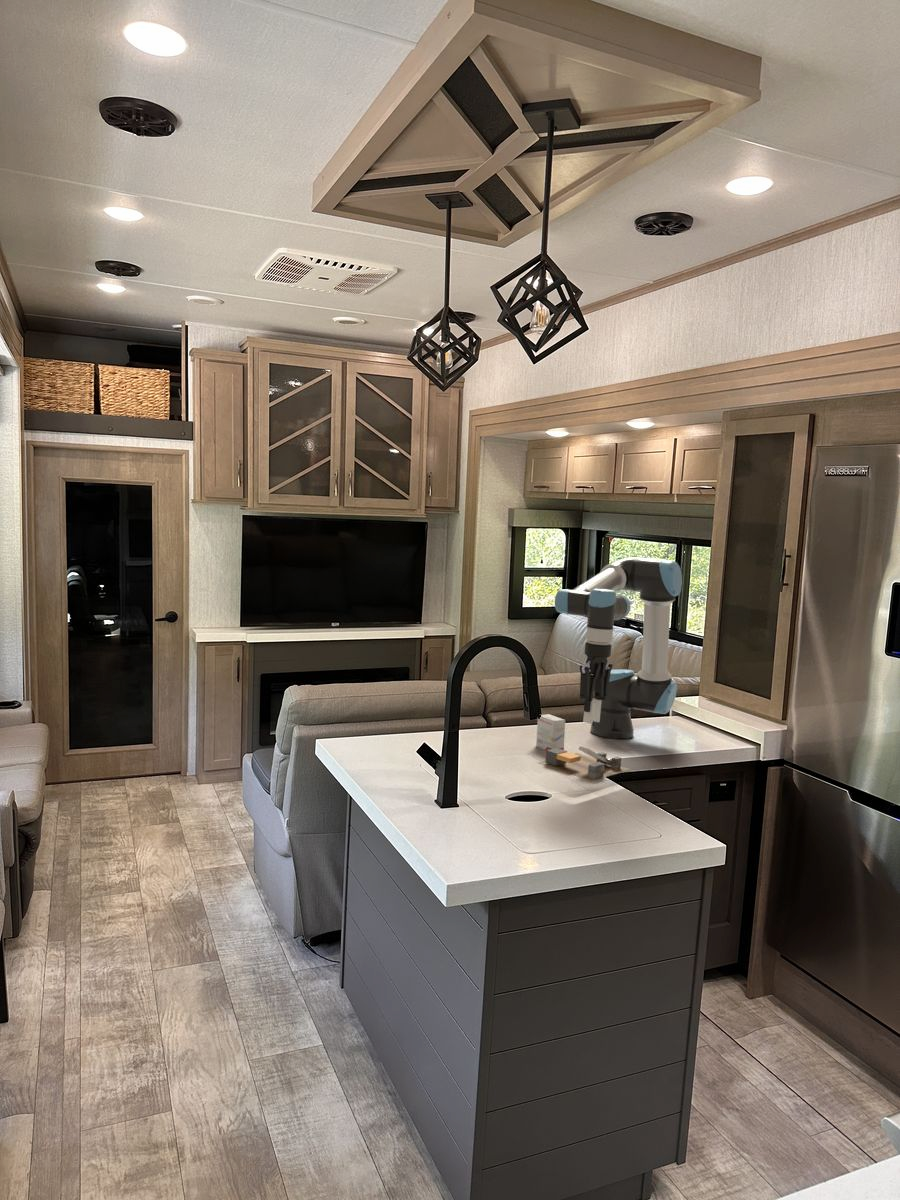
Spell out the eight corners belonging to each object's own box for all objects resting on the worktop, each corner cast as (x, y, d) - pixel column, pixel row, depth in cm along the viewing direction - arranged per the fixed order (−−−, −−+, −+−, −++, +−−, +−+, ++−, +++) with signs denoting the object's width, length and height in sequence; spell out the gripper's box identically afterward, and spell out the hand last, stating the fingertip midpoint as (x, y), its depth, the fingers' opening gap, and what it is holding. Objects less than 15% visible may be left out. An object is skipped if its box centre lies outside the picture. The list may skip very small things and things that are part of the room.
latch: (555, 760, 253) (556, 748, 252) (579, 767, 246) (580, 755, 246) (545, 762, 249) (546, 750, 249) (569, 770, 243) (570, 757, 243)
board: (576, 757, 264) (578, 741, 263) (630, 774, 250) (631, 757, 249) (536, 767, 250) (538, 750, 249) (591, 785, 236) (592, 767, 235)
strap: (605, 764, 253) (607, 758, 254) (613, 766, 251) (615, 761, 251) (578, 749, 242) (580, 743, 243) (587, 752, 240) (589, 746, 241)
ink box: (564, 756, 265) (567, 719, 263) (551, 757, 262) (555, 721, 261) (546, 748, 272) (549, 713, 271) (534, 750, 269) (537, 714, 268)
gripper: (603, 639, 249) (596, 715, 251) (571, 641, 237) (564, 722, 240) (625, 643, 243) (617, 721, 246) (592, 646, 232) (585, 728, 234)
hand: (591, 721), depth 243 cm, fingers open, 3 cm apart
